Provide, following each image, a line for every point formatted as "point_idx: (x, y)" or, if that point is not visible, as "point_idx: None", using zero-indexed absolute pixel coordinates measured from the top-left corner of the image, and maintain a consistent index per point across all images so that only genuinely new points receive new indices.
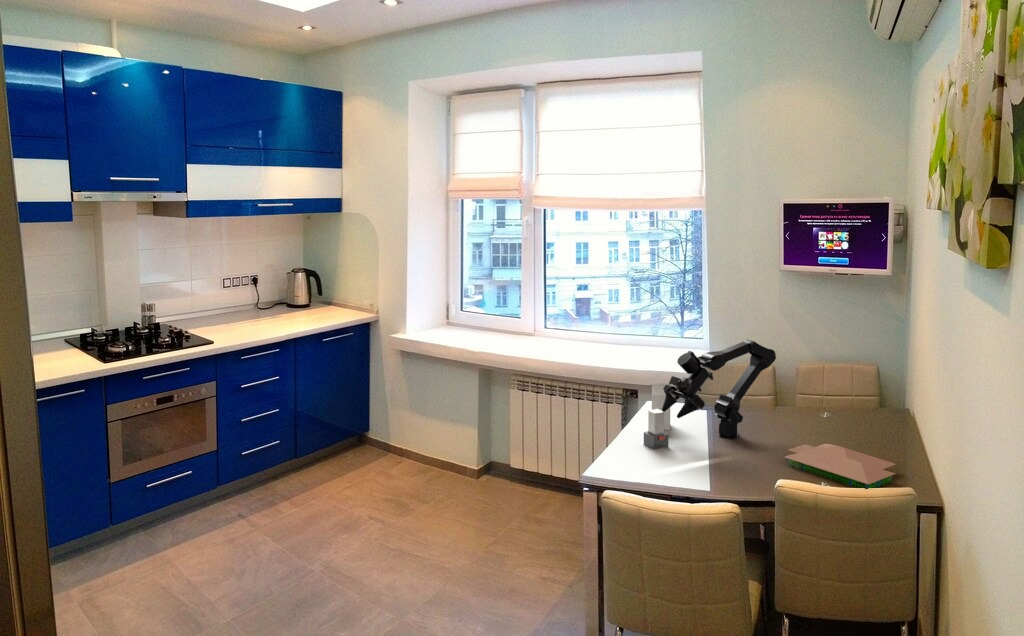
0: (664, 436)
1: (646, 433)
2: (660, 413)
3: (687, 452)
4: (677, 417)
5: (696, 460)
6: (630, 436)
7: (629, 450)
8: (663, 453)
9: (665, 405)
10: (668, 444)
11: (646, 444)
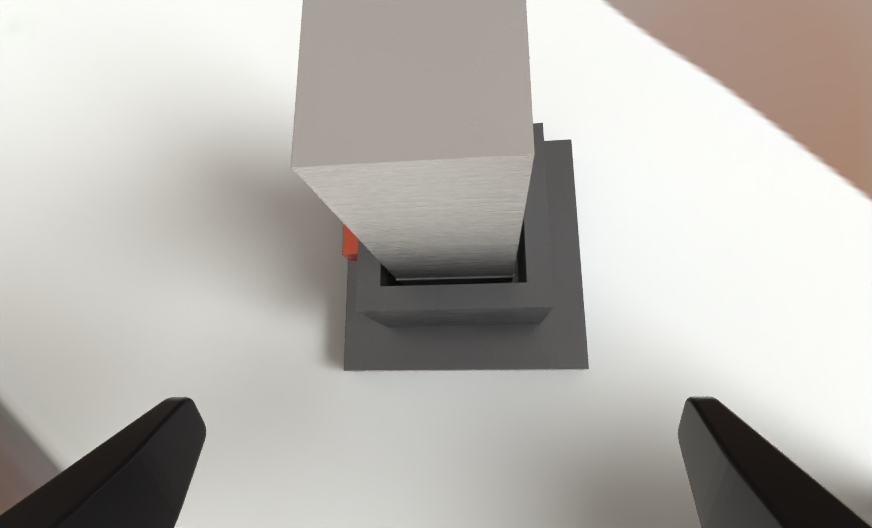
0: (343, 249)
1: None
2: (304, 97)
3: (279, 439)
4: (189, 410)
5: (116, 386)
6: (859, 240)
7: None
8: None
9: (760, 522)
10: (380, 323)
11: None
